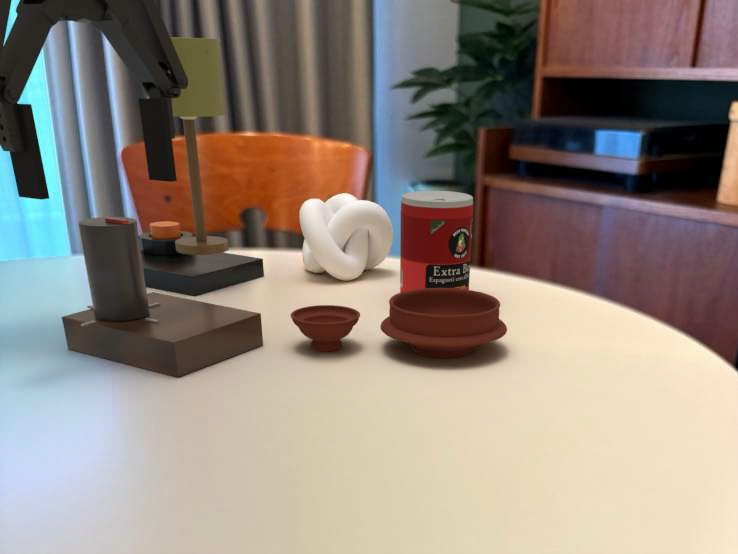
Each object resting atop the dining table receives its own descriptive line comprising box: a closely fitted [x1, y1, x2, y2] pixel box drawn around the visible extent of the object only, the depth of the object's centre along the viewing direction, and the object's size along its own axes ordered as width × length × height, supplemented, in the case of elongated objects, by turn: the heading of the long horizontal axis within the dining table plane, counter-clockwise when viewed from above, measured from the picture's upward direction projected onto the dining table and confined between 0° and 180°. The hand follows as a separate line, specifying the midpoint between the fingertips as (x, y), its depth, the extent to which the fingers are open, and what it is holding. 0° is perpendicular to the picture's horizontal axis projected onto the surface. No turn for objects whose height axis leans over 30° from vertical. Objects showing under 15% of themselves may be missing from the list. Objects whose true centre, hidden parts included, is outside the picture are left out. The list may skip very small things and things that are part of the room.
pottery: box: [290, 288, 508, 359], centre depth 77 cm, size 12×20×4 cm, turn 90°
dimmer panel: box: [61, 291, 264, 378], centre depth 76 cm, size 14×12×3 cm
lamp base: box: [138, 230, 265, 297], centre depth 100 cm, size 16×12×4 cm
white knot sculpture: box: [298, 192, 394, 282], centre depth 101 cm, size 11×12×9 cm
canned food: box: [399, 190, 474, 293], centre depth 90 cm, size 8×8×11 cm
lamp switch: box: [149, 220, 182, 238], centre depth 103 cm, size 4×4×2 cm
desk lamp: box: [146, 36, 230, 255], centre depth 91 cm, size 8×8×21 cm
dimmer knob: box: [77, 216, 150, 321], centre depth 73 cm, size 5×5×8 cm
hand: (103, 189), depth 70 cm, fingers open, 13 cm apart
